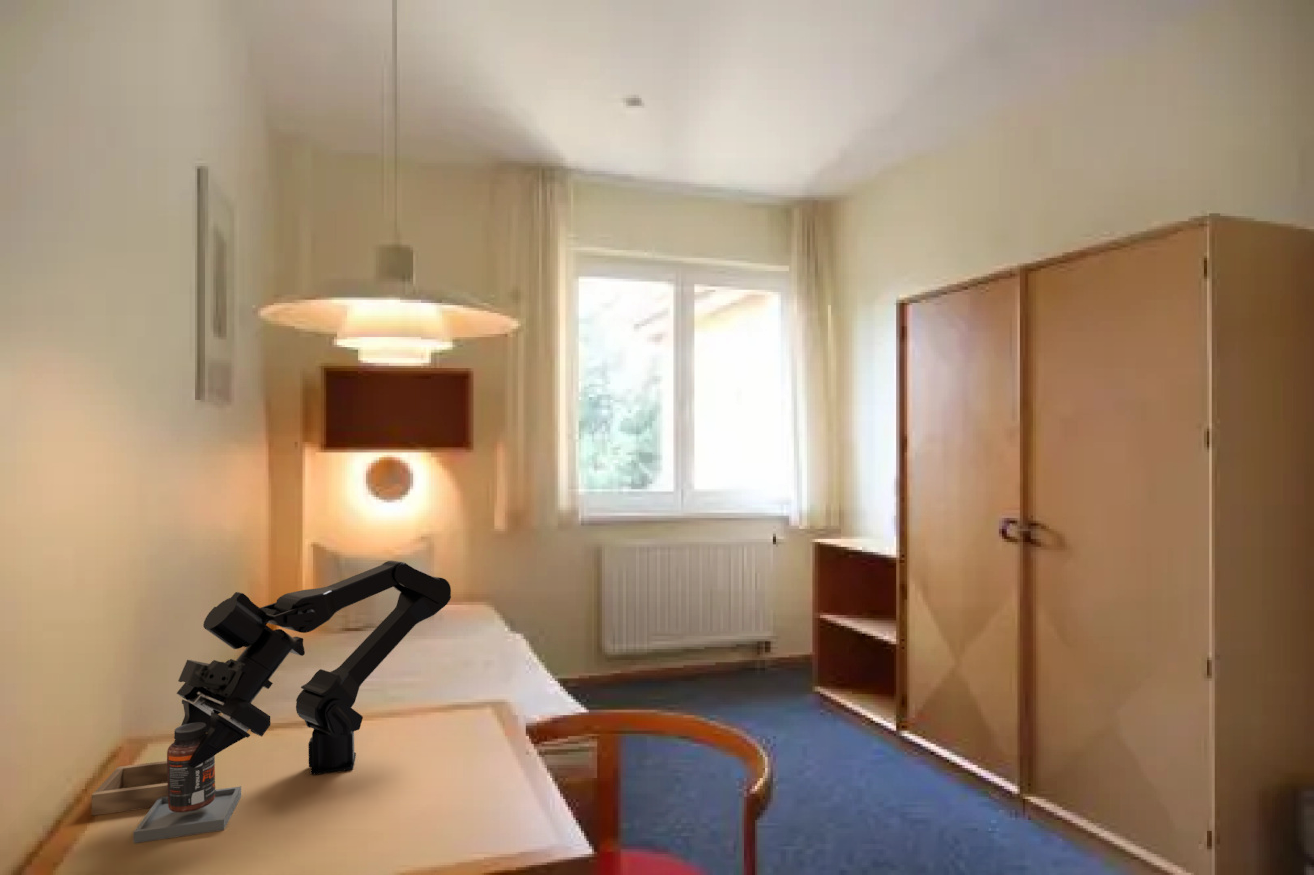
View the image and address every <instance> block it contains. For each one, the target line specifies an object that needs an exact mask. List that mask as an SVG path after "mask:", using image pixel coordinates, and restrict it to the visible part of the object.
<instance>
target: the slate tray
mask: <svg viewBox="0 0 1314 875" xmlns="http://www.w3.org/2000/svg"><path fill="white" fill-rule="evenodd" d="M215 791H216V792H215V799H214V800H213V801H212V802H211V803H210V804H209V805H207V806H205V807H203V808H201V809H198V810H195V811H189V812H173V811H171V810H170V809H169V807H168V796H164V797H159V798H158V800H157V801H156V802H155V804H154V805H153V806H152V808H150V809H149V810H148V812H147V813H146V815H145V816H144V817H143V819H142V820H141V821H140V822H139V823H138V826H136V828H135V829H134V830H133V834H132V835H133V844H136V843H137V844H138V843H145V842H152V841H159V840H164V839H171V837H172V838H177V837H178V838H179V837H185V836H192V835H199V834H207V833H213V832H219V831H224V830H225V829H226V827H227V825H228V823H229V821H230V819H231V817H232V815H233V812H234V811H235V809H236V807H237V805H238V803H239V801H240V799H241V797H242V786H241V785H240V786H233V787H226V788H217V789H215ZM206 832H207V833H206Z"/></svg>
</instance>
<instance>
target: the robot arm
mask: <svg viewBox="0 0 1314 875" xmlns="http://www.w3.org/2000/svg"><path fill="white" fill-rule="evenodd" d="M391 588H394V590H396V591H398V592H400V593H399V596H398V599H397V602H396V606H395V607H394V609H393V610H392V611H391V612H390V613H389V614H388V615H387V617H385V618H384V619H383V620H382V621H381V622H380V623H379V624H378V625H377V627H376V628H374V630H373V631H372V632H371V633H369V635H368V636H367V637H366V638H365V639H364V640H363V641H362V642H361V643H360V644H359V646H357V647H356V649H355V650H353V652H352V653H351V654H350V655H349V656H348V657H347V658H346V659H345V660H344V661H343V662H342V663H341V664H340V665H339V666H338V667H337V668H335V669H333V670H331V671H328V670H325V669H321V668H320V669H319V670H317V671H316V672H315V673H314V674H313V676H312V677H311V679H309V681H308V682H306V683H305V684H303V685H301V687H300V688H301V689H302V690H301V692H300V693H299V694H298V695H297V697H296V699H295V702H296V703H295V709H296V710H295V711H296V714H297V716H298V717H299V718H301V719H302V720H303V721H304V723H305V726H307V728H309V729H313V731H312V733H311V737H310V738H309V742H308V743H307V744H308V745H307V746H308V767H309V768H311V769H310V775H314V776H315V775H319V774H328V773H335V772H344V771H350V770H353V769H354V766H355V762H356V757H357V753H356V752H355V732H357V731H359V730H360V729H361V725H362V721H363V719H364V717H363V715H361V713H359V712H358V711H356V710H355V709H353V708H352V707H353V706H354V704H355V703H356V700H357V696H358V693H359V690H360V687H361V686H362V684H363V683H364V682H365V681H366V680H367V679H368V678H369V676H371V674H372V673H373V672H374V671H375V670H376V669H377V668H378V667H379V666H380V664H381V663H382V662H383V661H384V660H385V659H386V658H387V657H388V655H390V653H392V652H393V651H394V649H395V648H396V647H398V645H399V644H400V642H402V641H403V640H404V638H405V637H406V636H407V635H408V634H409V633H410V632H411V631H412V630H413V628H414V627H415V626H416V625H418V624H419V623H421V622H423V621H425V620H427V619H429V618H431V617H434V616H435V615H436V614H437V613H439V612H440V611H441V610H442V609H444V608H445V607H446V606H447V605H448V603H449V602H450V600H451V598H452V595H451V594H452V589H451V584H450V583H449V581H448V580H447V579H446V578H443V577H438V576H432V575H430V574H427V573H425V572H423V571H420V570H418V569H416V568H414V567H413V566H411V565H409V564H408V563H406V562H404V561H397V560H396V561H395V560H388V561H385V562H384V563H382V564H381V565H377V566H376V567H373V568H370V569H367V570H365V571H363V572H360V573H357V574H355V575H353V576H351V577H348V578H345V579H343V580H340V581H338V582H335V583H333V584H330V585H327V586H323V587H318V588H317V587H316V588H310V589H301V590H298V591H293V592H287V593H285V594H283V595H281V596H279V597H278V598H277V599H276V602H273V603H270V604H268V605H267V604H266V605H264V606H262V607H261V606H260V607H259V606H258V605H256V604H255V603H254V602H253V601H252V600H251V599H250V598H249V596H247V595H246V594H245V593H243V592H240V591H235V592H234V593H233V595H231V597H229V598H226V599H225V600H223V601H222V602H220V603H219V604H218V605H217V606H214V607H213V608H212V609H211V610H210V611H209V612H208V613H207V615H206V617H205V618H204V621H203V625H202V626H203V628H204V629H205V630H206V631H207V632H209V633H210V634H212V635H213V636H215V637H216V638H217V639H218V640H220V641H222V643H225V644H226V645H227V646H228V647H230V648H231V649H233V650H239V649H241V648H244V649H243V651H242V652H241V654H240V655H239V656H238V657H237V659H236V660H235V659H231V658H230V659H228V660H226V662H225V661H218V660H217V659H214V660H212V661H211V662H210V663H207V662H202V661H198V660H197V661H196V660H192V659H187V660H186V662H185V664H184V666H183V669H182V671H181V673H180V676H179V677H178V682H179V683H182V682H183V683H184V684H182V686H181V687H180V689H179V690H178V691H177V692H176V694H177V695H178V696H179V697H181V698H182V700H181V704H182V705H183V711H184V716H183V720H182V723H181V725H180V726H182V725H185V724H190V723H197V722H201V723H205V724H206V728H207V733H206V735H205V736H204V738H203V740H202V741H201V743H200V744H199V746H198V747H197V749H196V750H195V752H194V753H193V755H192V757H191V758H190V760H189V762H188V766H190V767H192V768H195V767H197V766H198V765H200V764H202V763H203V762H205V761H206V760H208V759H209V758H211V757H213V756H214V755H215V756H216V755H217V754H219V753H221V752H223V751H224V750H225V749H227V748H229V747H230V746H233V745H234V744H236V743H238V742H240V741H242V740H243V739H245V738H247V739H248V738H250V737H251V734H250V733H248V731H249V730H250V732H251V733H252V734H255V735H257V736H260V737H262V738H263V736H264V735H265V733H267V730H268V729H269V728H270V727H271V715H269V714H267V713H266V712H264V711H263V710H262V709H260V708H259V707H257V706H256V705H254V704H253V702H254V700H255V698H257V696H258V694H259V693H260V692H261V691H262V690H263V689H268V690H269V689H270V688H271V686H272V685H273V682H272V681H270V679H271V677H272V676H273V674H275V672H276V671H277V670H278V669H279V667H280V666H281V665H282V663H284V660H286V658H287V657H288V656H289V654H294V655H297V656H300V657H302V656H304V655H305V647H304V638H303V637H299V636H291V635H290V634H288V633H287V632H286V631H284V630H283V629H285V630H290V631H293V632H296V633H303V634H306V633H310V632H312V631H314V630H316V629H318V628H319V627H321V626H323V624H325V623H327V622H328V621H330V620H331V618H332V617H333V616H334V615H336V613H337V612H339V611H341V610H342V609H345V608H346V607H348V606H352V605H354V604H356V603H359V602H361V601H363V600H365V599H367V598H371V597H372V596H376V594H377V595H378V594H379V593H382V592H384V591H387V590H389V589H391ZM268 625H275V626H278V627H280V628H277V629H272V628H271V627H270V626H268ZM281 628H282V629H281ZM219 714H222V715H219ZM175 741H176V740H175V739H174V741H173V743H174V742H175Z"/></svg>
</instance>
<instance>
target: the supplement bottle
mask: <svg viewBox="0 0 1314 875" xmlns="http://www.w3.org/2000/svg"><path fill="white" fill-rule="evenodd" d="M181 725H182V724H181ZM181 725H180V726H178V727H176V728H175V729H174V736H173V738H174V741H175V740H176V741H175V742H174V741H173V742H172V743H171V744H170V745H169V746H168V748H167V751H166V761H167V782H166V783H168V807H169V809H170V810H171V811H173V812H189V811H195V810H198V809H201V808H203V807H205V806H207V805H209V804H210V803H211V802H212V801H213V800H214V799H215V792H216V791H215V790H216V770H215V769H216V767H215V766H216V764H215V763H216V761H215V760H216V759H215V756H216V755H214V756H213V757H211V758H209V759H208V760H206V761H205V762H203V763H202V764H200V765H198V766H197V767H195V768H192V767H190V766H188V762H189V760H190V758H191V757H192V755H193V753H194V752H195V750H196V749H197V747H198V746H199V744H200V743H201V741H202V740H203V738H204V736H205V735H206V733H207V728H206V724H205V723H201V722H197V723H190V724H185V725H182V726H181Z"/></svg>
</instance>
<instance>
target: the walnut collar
mask: <svg viewBox="0 0 1314 875" xmlns="http://www.w3.org/2000/svg"><path fill="white" fill-rule="evenodd" d="M128 786H130V787H128ZM164 796H168V783H167V760H162V761H154V762H148V763H147V762H146V763H138V764H129V765H123V766H122V765H121V766H117V767H116V768H115V770H114V771H113V772H112V773H111V774H110V775H109V776H108V777H107V778H106V779H105V780H104V781H103V782H102V783H101V785H99V787H98V788H97V789H96V790H95V791H94V792H92V794H91V816H92V815H93V816H100V815H107V814H113V813H121V812H128V811H136V810H137V811H138V810H143V809H149V808H150V809H151V808H152V806H153V805H154V804H155V802H156V801H157V800H158V798H159V797H164Z"/></svg>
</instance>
